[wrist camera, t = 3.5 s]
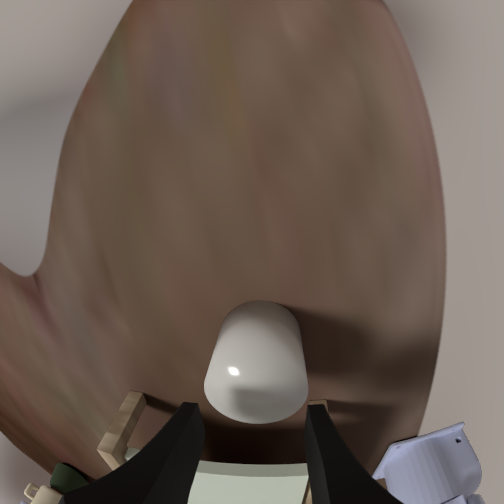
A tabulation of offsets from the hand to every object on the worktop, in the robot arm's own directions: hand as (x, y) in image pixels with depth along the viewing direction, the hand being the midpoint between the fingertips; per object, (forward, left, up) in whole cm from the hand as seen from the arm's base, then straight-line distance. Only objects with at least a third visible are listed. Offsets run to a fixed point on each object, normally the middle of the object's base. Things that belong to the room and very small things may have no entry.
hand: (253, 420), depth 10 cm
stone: (0, 0, -7) cm, 7 cm away
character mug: (+33, +33, -7) cm, 47 cm away
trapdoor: (+3, +13, -2) cm, 14 cm away
